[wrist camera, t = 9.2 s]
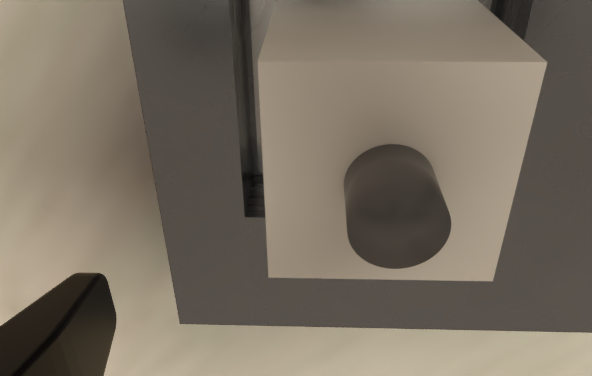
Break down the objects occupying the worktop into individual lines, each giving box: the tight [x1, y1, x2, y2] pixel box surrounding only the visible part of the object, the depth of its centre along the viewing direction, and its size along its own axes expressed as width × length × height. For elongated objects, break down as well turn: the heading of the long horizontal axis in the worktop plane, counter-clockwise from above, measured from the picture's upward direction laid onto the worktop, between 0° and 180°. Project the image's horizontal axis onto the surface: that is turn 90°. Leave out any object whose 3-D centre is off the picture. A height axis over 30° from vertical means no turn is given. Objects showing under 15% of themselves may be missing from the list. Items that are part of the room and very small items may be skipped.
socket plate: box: [123, 0, 592, 333], centre depth 15 cm, size 16×16×4 cm
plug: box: [258, 0, 547, 281], centre depth 12 cm, size 5×5×8 cm
